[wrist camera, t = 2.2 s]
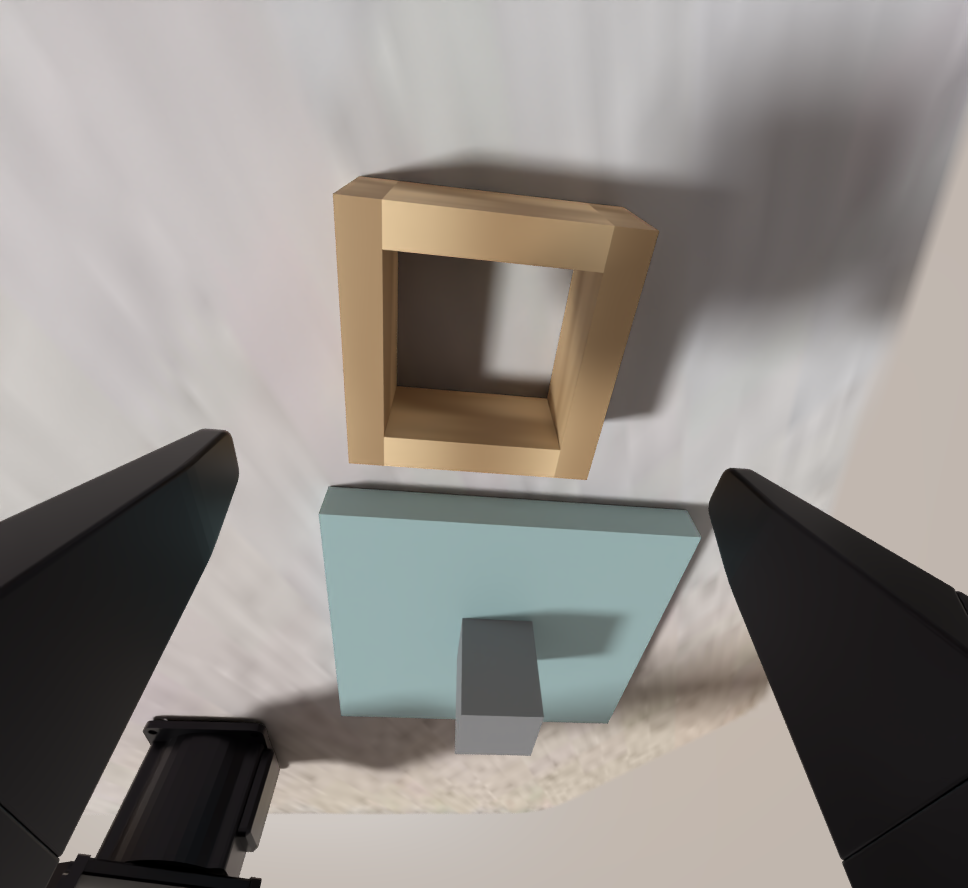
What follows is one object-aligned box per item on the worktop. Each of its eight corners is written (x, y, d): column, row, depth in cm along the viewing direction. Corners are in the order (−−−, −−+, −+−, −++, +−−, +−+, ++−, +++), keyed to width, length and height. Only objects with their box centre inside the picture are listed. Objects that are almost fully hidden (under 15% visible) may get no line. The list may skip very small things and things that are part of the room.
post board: (347, 687, 26) (321, 808, 22) (328, 486, 18) (283, 610, 14) (601, 695, 27) (627, 812, 23) (686, 510, 20) (752, 632, 15)
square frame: (366, 409, 17) (349, 463, 14) (359, 175, 13) (333, 193, 10) (569, 425, 17) (586, 480, 15) (623, 207, 13) (659, 231, 11)
